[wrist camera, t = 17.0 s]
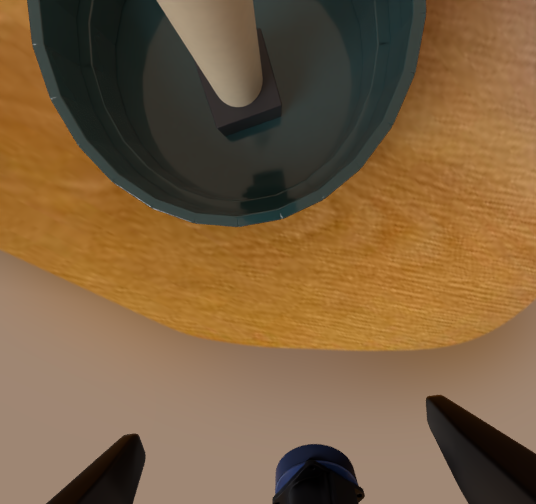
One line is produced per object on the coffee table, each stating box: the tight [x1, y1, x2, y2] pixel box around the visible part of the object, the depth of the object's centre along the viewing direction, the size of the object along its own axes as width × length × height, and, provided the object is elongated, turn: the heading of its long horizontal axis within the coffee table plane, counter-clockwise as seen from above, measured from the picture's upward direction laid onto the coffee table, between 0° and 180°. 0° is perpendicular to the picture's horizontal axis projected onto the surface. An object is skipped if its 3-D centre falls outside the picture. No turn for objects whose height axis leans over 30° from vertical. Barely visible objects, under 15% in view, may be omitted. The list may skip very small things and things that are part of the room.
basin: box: [27, 0, 426, 227], centre depth 15 cm, size 18×18×6 cm
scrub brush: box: [157, 0, 282, 136], centre depth 10 cm, size 4×4×14 cm
